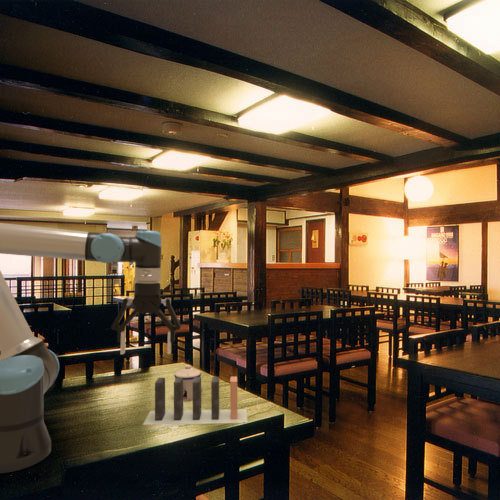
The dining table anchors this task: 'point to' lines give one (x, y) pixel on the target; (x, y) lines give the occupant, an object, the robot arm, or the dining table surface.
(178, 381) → the domino
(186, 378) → the teacup with lid
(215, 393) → the domino
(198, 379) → the domino
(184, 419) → the board
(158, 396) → the domino
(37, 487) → the dining table surface
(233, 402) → the domino
